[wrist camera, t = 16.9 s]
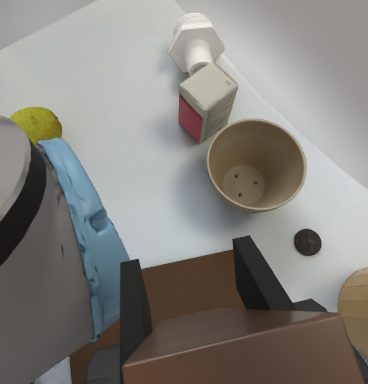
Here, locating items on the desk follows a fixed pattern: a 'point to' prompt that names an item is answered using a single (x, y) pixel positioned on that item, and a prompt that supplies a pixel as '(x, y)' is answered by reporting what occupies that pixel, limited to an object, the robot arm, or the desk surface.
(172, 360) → the block
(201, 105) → the small box
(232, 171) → the bowl
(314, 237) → the coin
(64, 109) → the desk surface
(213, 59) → the pipe fitting
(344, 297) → the wooden pot
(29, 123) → the fruit
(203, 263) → the mat
